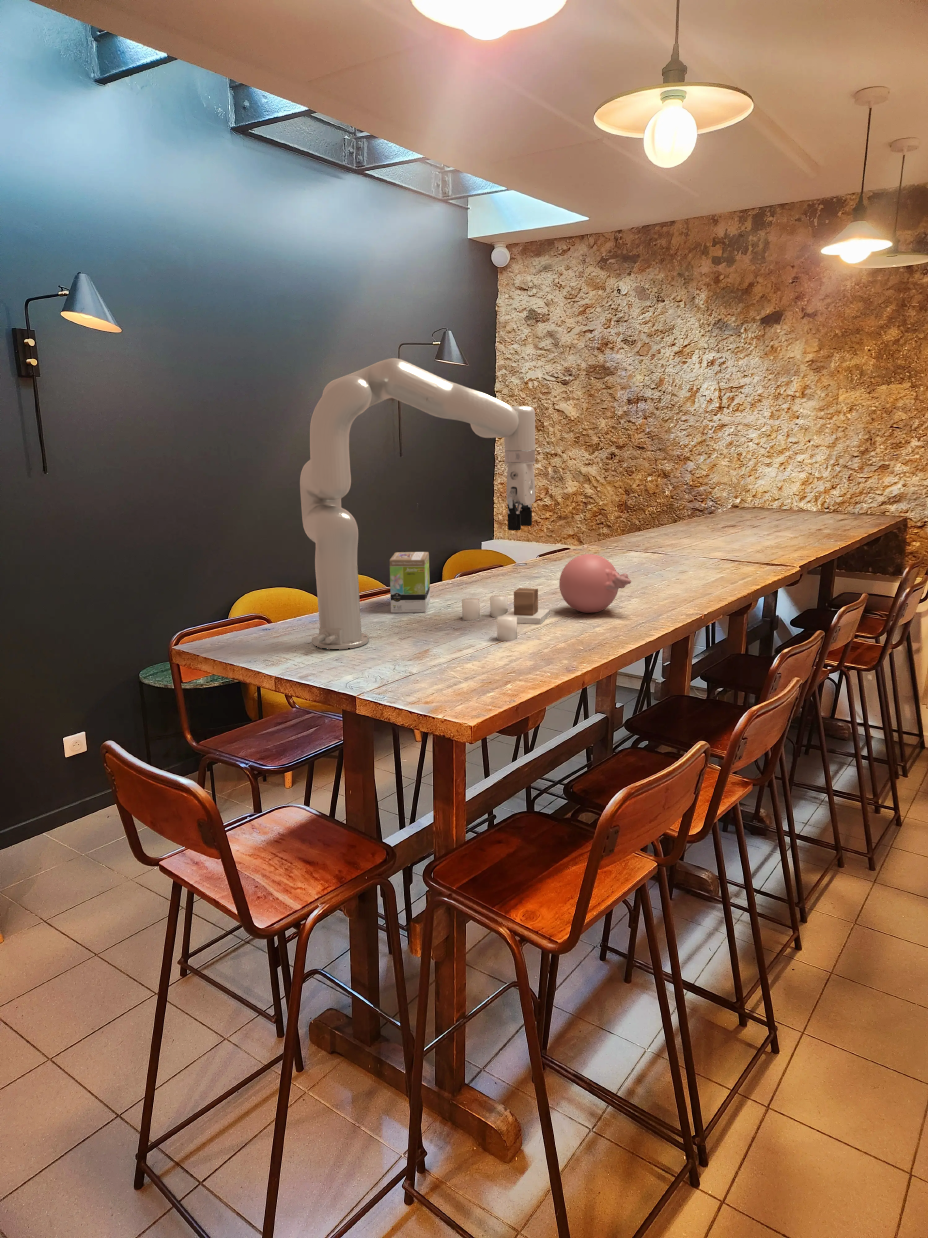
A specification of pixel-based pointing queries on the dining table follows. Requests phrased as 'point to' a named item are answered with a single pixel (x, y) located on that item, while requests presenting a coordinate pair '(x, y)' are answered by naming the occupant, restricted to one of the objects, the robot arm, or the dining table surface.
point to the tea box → (409, 582)
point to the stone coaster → (534, 619)
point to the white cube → (470, 609)
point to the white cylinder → (498, 605)
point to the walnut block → (526, 601)
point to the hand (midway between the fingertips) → (520, 527)
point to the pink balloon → (590, 583)
